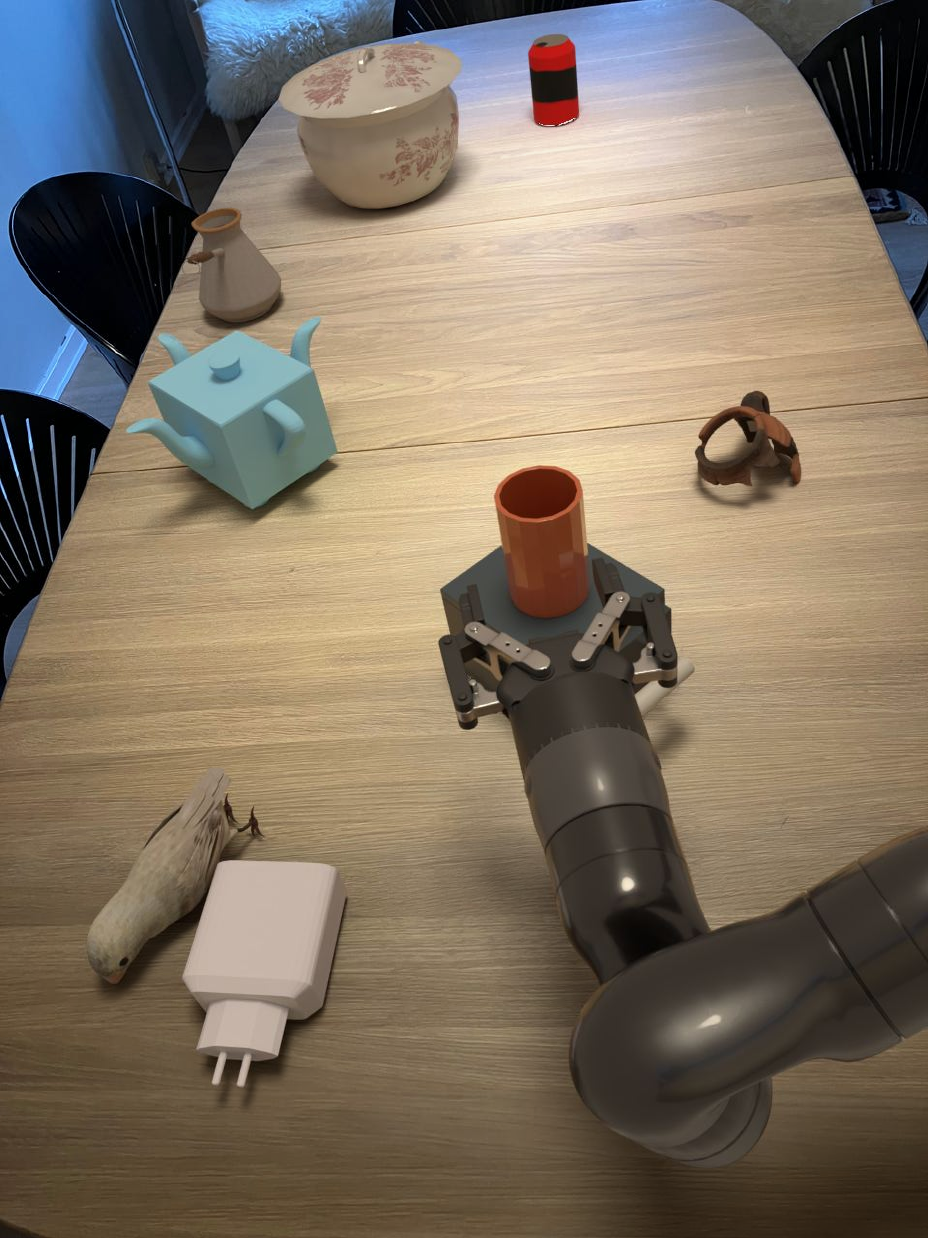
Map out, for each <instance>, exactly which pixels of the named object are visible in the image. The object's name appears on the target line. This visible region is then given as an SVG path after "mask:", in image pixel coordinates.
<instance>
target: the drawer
mask: <svg viewBox="0 0 928 1238" xmlns="http://www.w3.org/2000/svg"><path fill="white" fill-rule="evenodd" d="M662 605H663V608H664V612H665V615H666V618H667V621H668V625H669V628H670V631H671V634H672V633H673V632H672V631H673V630H672V629H673V628H672V621H673V620H672V619H673V618H672V617H673V616H672V615H673V614H672V608H671V607H669V606H668V605H666V603H665V604H663V603H662ZM672 635H673V634H672ZM646 645H647V642H646V639H645V635H644V632H643V628H642V626H630V628H629V630H628V632H627V633H626V635H625V637H624V639H623V640H622V642H621V644H620V648H619V653H621V654H622V655H624V656H626V657H627V658H629V659H630V660H631V662H632V663H635V662H637V661H638V660H639V659H640V657H641V651H642V649H643V648H645V647H646ZM695 671H696V668H695V666H694V664H693V662H692V661H691V660H690V659H689V658H688V657H686V656H683V655H681V656H678V674H677V684H676V685H675V686H674V687H672V688H664V687H661V686H660V685H659V684H658V681H651V682H645V683H638V684H635V686H634V689H633V692H634V695H635V697H636V700H637V703H638V706H639V709H640V712H641V715H642V718H643V717H644V716H645V715H646V714H648V713H649V712H650V711H651V710H652V709H653V708H654V707H656V706H657V705H658V704H660V703H661V701H663V700H664V699H665V698H666V697H668V695H670V694H671V693H673V691H674V690H676V689H677V688H678V687H679V686H680V685H681V684H683V683H684V682H685V681H687V680H688V678H689V677H691V676H693V674H694V673H695Z"/></svg>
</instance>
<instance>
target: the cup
mask: <svg viewBox="0 0 928 1238" xmlns="http://www.w3.org/2000/svg"><path fill="white" fill-rule="evenodd" d="M583 489H584V488H583V486H582V484H581V480H580V479H579V477H577V476H576V475H575V474H574V473H572V472H571V471H570V470H568V469H565V468H562V467H559V466H556V465H541V464H540V465H532V466H529V467H523V468H521V469H518V470H516V471H514V472H512V473H510V474H508V475H507V476H505V477H504V479H503V480H502V481H500V483H498V485H497V487H496V489H495V492H494V495H493V500H494V507H495V511H496V518H497V524H498V531H499V537H500V542H501V543H500V544H501V545H502V550H503V556H504V562H505V568H506V574H507V580H508V586H509V591H510V597H511V600H512V602H513V603H514V605H515V606H516V607H517V608H518V609H519V610H520V611H522V612H524V613H525V614H528V615H530V616H534V617H539V618H554V617H560V616H563V615H566V614H569V613H571V612H573V611H574V610H576V609H577V608H579V607H580V606H581V605H582V604H583V603H584V601H585V600H586V598H587V597H588V594H589V591H590V573H589V561H588V549H587V543H588V538H587V526H586V525H587V523H586V514H585V513H586V512H585V499H584V490H583Z"/></svg>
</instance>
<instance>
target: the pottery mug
mask: <svg viewBox="0 0 928 1238" xmlns="http://www.w3.org/2000/svg"><path fill="white" fill-rule="evenodd" d="M732 420H734V421H735V422H736V423H737V425H738V426H739V427H740V429H741V430H742V433H743V435H744V436H745V439H746V442H747V443H749V444H750V443H751V444H750V445H749V446H748V448H746V450H745V451H744V452H743V453H741V454H740V455H738V456H737V457H735V458H733V459H729V460H726V461H723V462H715V461H713V460H710V459H709V458H708V457H707V456H706V453H705V451H706V446H707V444H708V442H709V441H710V439H711V438H712V436H713V435H714V434H715V432H716V431H718V430H719V429H720V428H721V427H722V426H723V425H725V424H726V423H728V422H730V421H732ZM697 435H698V436H697V438H698V439H699V440H700V441H701V444H699V445H698V446H697V447H696V449H695V450H694V455H695V458H696V461H697V473H698V475H699V476H700V477H701V478H702V479H703V480H704V481H706V482H707V483H709V484H712V485H713V486H719V485H721V486H729V485H735V484H741V485H744V486H748V487H752V486H753V483H752V466H754V467H756V468H766V467H769V468H774V467H776V466H777V465H778V464H779V463H780V459H779V457H778V456H777V455H783V456H787V457H788V458H789V459H791V460H792V461H791V465H790V471H789V472H790V474H791V475H792V480H793V482H794V484H798V483H799V482H800V480H801V476H802V464H801V461H800V453H799V451H798V450H799V449H798V447H797V444H796V442H795V440H794V438H793V436H792V434H791V431H790V430H789V429H788V427H786V426H785V425H784V424H783V423H782V421H780V420H779V419H778V418H777V417H776V416H773V415H771V407H770V402H769V398H768V396H767V395H766V394H765V393H764V392H763V391H759V390H754V391H751V392H748V393H746V394H745V396H743V397H742V399H741V401H740V406H732V407H729V408H726V409H723V410H722V411H720V412H719V413H717V414H715V415H713V417H711V418H710V419H709V420H708V421H707V422H706V423H705V424H704V425H703V426H702V428H701V430H700V431H699V433H698V434H697ZM770 440H771V442H770ZM772 445H773V446H772ZM776 454H777V455H776Z"/></svg>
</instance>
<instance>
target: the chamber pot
mask: <svg viewBox="0 0 928 1238" xmlns="http://www.w3.org/2000/svg"><path fill="white" fill-rule="evenodd" d="M462 61H463V60H462V59H461V58H460V56H458V55H457V54H456V53H455V52H454V51H452V49H449V48H445V47H442V46H439V45H436V44H427V43H425V42H424V41H421V40H415V41H414V42H402V43H401V42H400V43H399V42H398V43H384V44H378V45H372V46H369V45H367V46H363V47H360V48H356V49H352V50H349V51H345V52H342V53H338V54H335V55H332V56H330V57H328V58H325V59H322V60H321V61H318V62H316V63H314V64H312V65H310V66H308V67H306V68H304V69H303V70H301V71H300V72H298V73H296V74H294V75H293V76H292V77H291V78H290V79H289V80H288V81H287V82H285V84H284V85H283V86H282V87H281V90H280V92H279V97H278V101H279V104H280V105H281V106H282V108H283V110H286V111H288V112H290V113H292V114H294V115H297V116H298V117H299V119H298V123H297V127H296V131H297V132H296V133H297V137H298V141H299V144H300V148H301V150H302V152H303V154H304V156H305V159H306V161H307V163H308V165H309V167H310V169H311V172H312V173H313V174H314V177H315V178H316V179H317V180H318V181H319V182H320V184H322V185H323V186H324V187H325V188H326V190H328V191H329V193H331V195H332V196H334V198H335V199H337V200H338V201H341V203H344V204H346V205H348V206H350V207H355V208H359V209H387V208H394V207H399V206H402V205H406V204H409V203H412V202H414V201H416V200H419V199H422V198H423V197H425V196H428V195H430V193H432V192H433V191H434V190H436V189H437V188H438V187H440V185H441V183H442V182H443V180H444V179H445V177H446V176H447V175H448V173H449V171H450V168H451V165H452V163H453V161H454V158H455V155H456V153H457V151H458V148H459V147H458V146H459V125H460V119H459V118H460V112H459V106H458V105H459V104H458V97H457V94H456V93H455V91H454V90H453V89H452V87H451V84H452V83H454V81H455V80H456V78H457V77H458V76H459V74H460V73H461V72H462V69H463V66H462V65H463V64H462Z"/></svg>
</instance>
